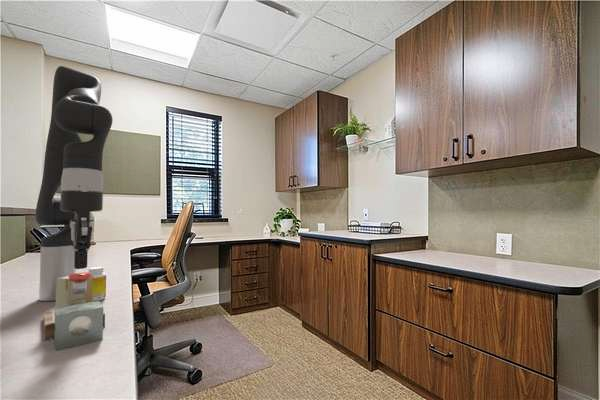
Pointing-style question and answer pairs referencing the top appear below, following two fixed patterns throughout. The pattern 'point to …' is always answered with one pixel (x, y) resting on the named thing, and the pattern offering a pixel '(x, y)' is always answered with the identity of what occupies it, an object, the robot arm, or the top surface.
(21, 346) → the top surface
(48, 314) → the rail
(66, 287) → the skincare box
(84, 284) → the button
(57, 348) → the cabinet
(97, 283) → the supplement bottle
